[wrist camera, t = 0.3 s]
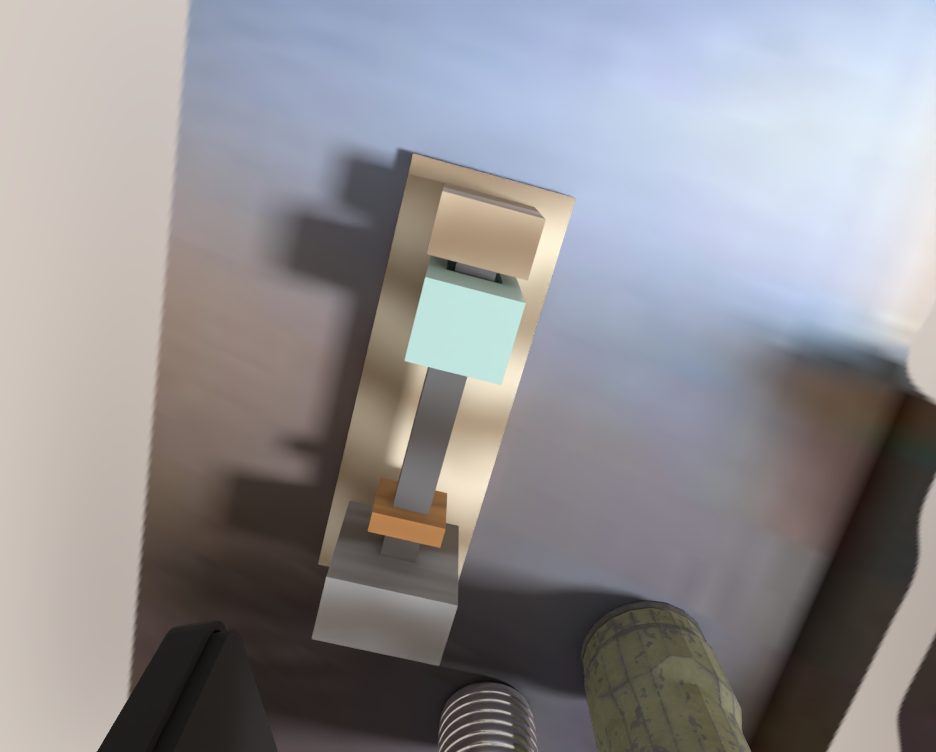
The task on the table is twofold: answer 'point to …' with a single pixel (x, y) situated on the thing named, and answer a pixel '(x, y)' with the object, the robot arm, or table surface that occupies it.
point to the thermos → (657, 684)
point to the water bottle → (487, 721)
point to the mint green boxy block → (465, 322)
